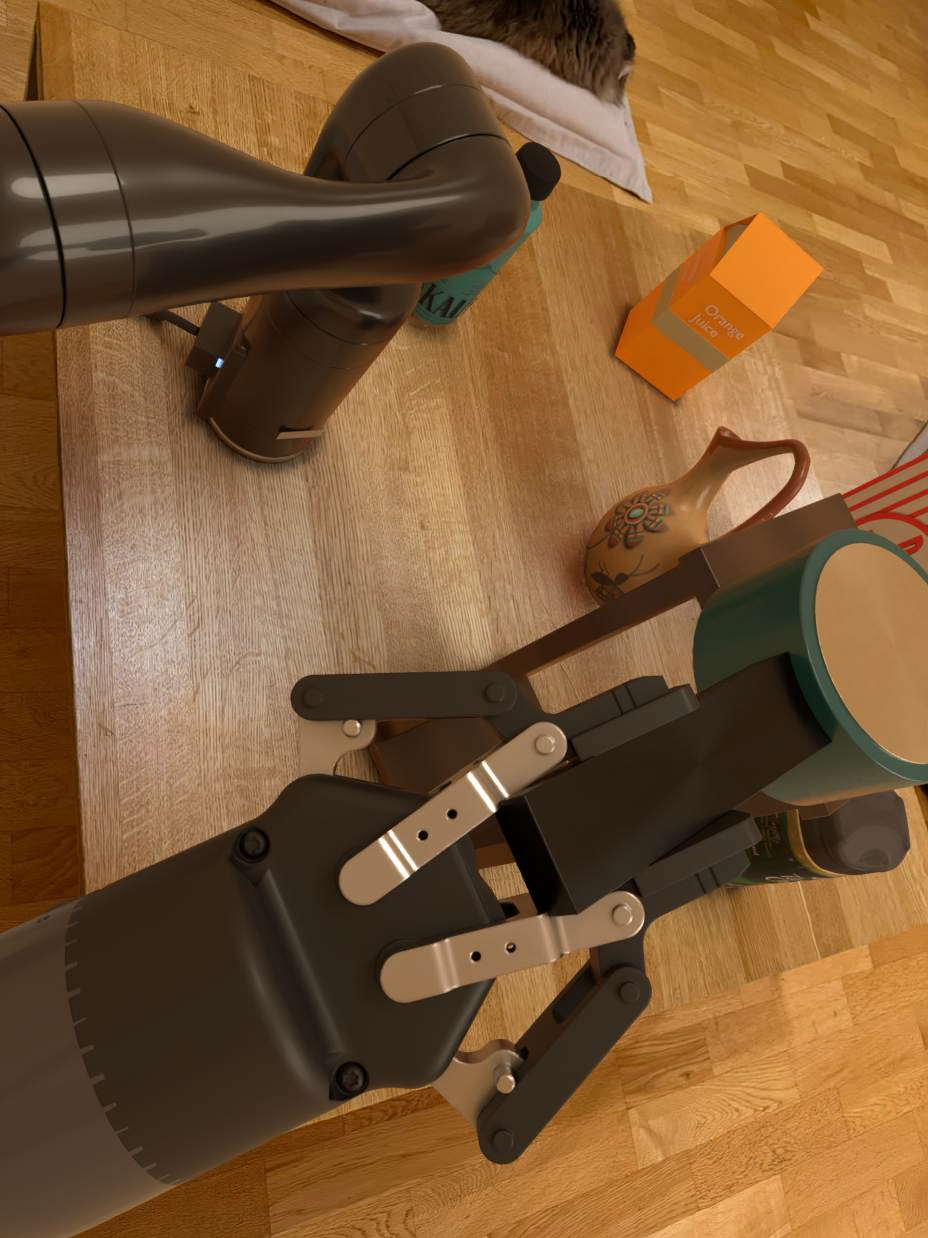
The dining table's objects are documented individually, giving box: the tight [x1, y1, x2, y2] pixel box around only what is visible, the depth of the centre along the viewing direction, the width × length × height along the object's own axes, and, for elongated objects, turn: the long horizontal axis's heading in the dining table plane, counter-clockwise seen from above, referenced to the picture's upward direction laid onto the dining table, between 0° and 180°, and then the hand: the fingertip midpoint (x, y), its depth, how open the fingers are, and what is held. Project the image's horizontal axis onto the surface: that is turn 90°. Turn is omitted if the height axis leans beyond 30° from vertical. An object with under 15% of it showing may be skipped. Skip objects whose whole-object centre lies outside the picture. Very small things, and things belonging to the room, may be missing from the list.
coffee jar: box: [718, 790, 912, 889], centre depth 78 cm, size 10×8×19 cm
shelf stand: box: [366, 492, 859, 871], centre depth 61 cm, size 16×13×37 cm
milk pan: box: [494, 529, 928, 918], centre depth 30 cm, size 20×9×5 cm, turn 118°
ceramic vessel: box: [583, 425, 812, 607], centre depth 80 cm, size 16×9×25 cm, turn 167°
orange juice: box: [614, 211, 825, 402], centre depth 96 cm, size 8×9×20 cm
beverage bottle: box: [412, 141, 562, 327], centre depth 81 cm, size 6×7×20 cm
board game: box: [841, 451, 928, 574], centre depth 86 cm, size 20×6×27 cm, turn 5°
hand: (714, 759), depth 26 cm, fingers closed on milk pan, 3 cm apart
